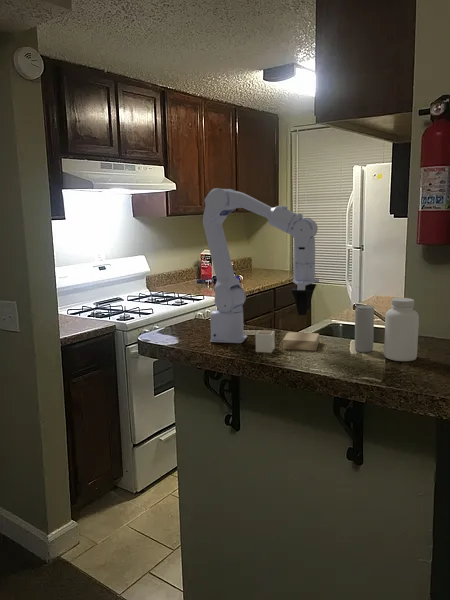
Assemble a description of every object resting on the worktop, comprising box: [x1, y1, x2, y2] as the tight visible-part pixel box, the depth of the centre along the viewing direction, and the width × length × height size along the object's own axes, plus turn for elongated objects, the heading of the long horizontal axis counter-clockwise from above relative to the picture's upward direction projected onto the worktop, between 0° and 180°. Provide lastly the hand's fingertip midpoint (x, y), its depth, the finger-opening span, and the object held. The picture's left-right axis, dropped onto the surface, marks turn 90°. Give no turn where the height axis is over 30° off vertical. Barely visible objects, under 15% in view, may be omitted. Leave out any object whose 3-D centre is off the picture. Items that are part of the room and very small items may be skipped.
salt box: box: [254, 329, 276, 354], centre depth 139 cm, size 4×4×5 cm
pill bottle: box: [383, 297, 420, 362], centre depth 127 cm, size 8×8×15 cm
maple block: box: [282, 331, 320, 351], centre depth 143 cm, size 9×9×3 cm
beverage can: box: [354, 304, 375, 353], centre depth 135 cm, size 5×5×12 cm
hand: (303, 312), depth 140 cm, fingers open, 7 cm apart
